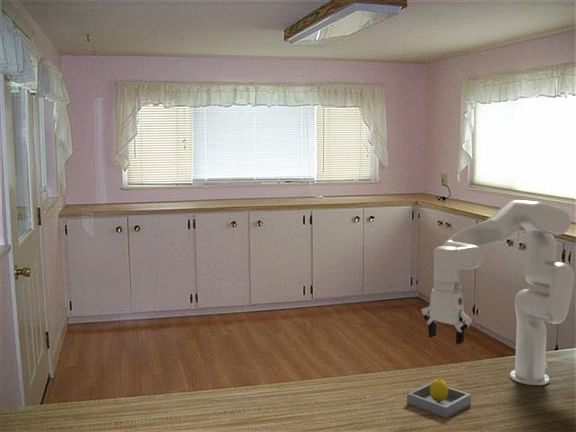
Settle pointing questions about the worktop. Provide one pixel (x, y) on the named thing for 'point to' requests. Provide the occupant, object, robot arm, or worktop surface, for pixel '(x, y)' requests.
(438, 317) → the robot arm
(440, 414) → the box
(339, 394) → the worktop surface
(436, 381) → the lemon
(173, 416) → the worktop surface
